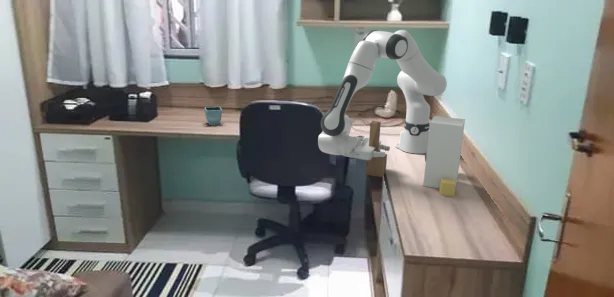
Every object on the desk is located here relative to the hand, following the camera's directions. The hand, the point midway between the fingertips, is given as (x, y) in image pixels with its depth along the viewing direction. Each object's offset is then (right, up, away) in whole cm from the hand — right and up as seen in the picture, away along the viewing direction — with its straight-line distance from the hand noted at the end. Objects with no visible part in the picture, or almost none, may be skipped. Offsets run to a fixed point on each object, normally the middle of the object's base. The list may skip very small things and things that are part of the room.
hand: (387, 151), depth 206 cm
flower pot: (-86, +15, +74) cm, 114 cm away
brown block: (-7, +2, +2) cm, 8 cm away
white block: (+21, -13, -5) cm, 25 cm away
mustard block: (+20, -16, -15) cm, 30 cm away
